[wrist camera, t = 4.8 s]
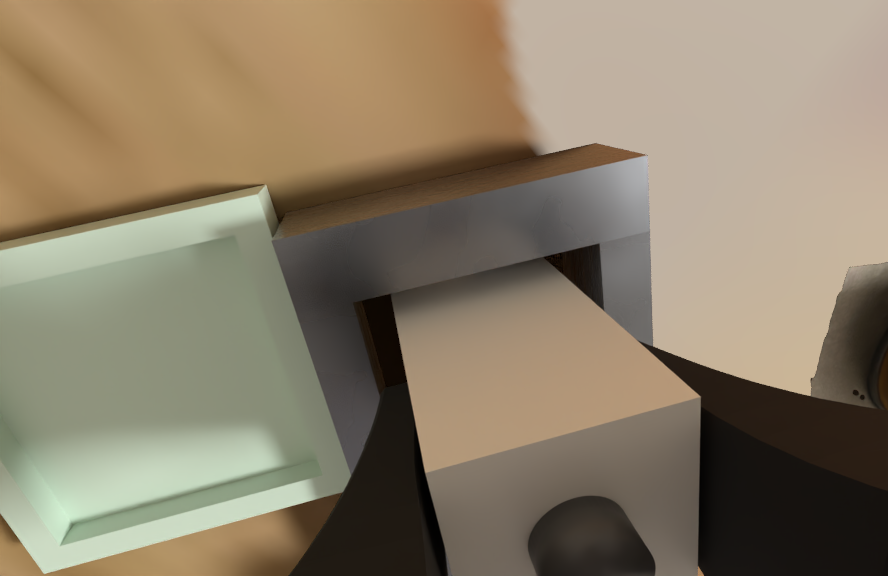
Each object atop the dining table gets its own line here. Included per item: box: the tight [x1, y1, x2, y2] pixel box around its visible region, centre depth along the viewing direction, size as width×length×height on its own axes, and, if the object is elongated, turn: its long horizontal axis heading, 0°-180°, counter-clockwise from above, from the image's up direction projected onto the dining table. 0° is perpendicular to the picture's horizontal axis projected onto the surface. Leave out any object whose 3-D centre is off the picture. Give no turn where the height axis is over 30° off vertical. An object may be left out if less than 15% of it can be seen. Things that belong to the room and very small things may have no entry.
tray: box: [0, 185, 351, 574], centre depth 13 cm, size 8×8×1 cm
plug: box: [391, 257, 701, 576], centre depth 10 cm, size 4×4×7 cm
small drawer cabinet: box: [272, 143, 653, 576], centre depth 15 cm, size 18×8×3 cm, turn 10°
